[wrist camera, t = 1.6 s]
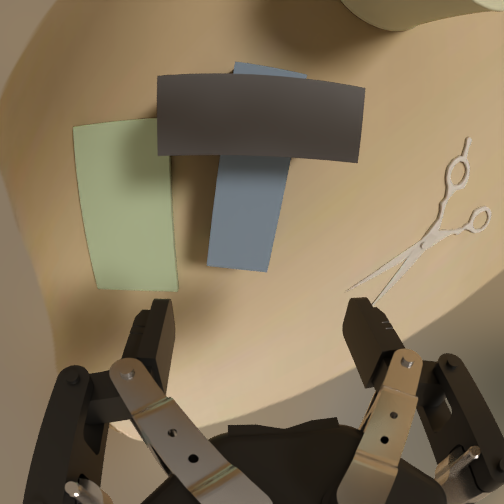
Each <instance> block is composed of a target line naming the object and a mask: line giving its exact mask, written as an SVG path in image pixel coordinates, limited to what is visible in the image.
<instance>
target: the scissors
mask: <svg viewBox="0 0 504 504" xmlns="http://www.w3.org/2000/svg"><path fill="white" fill-rule="evenodd" d="M471 142H472V139H471V138H470V137H467V138H466V139H465V146H464V149H463V152H462V156H459V155H458V156H457V157H455V158H453V159H452V160H451V162H450V163H449V165H448V166H447V170H446V176H445V178H446V186H447V189H446V194H445V197H444V198H443V199H442V201H441V202H440V211H439V215H438V218H437V219H436V220H435V221H434V223H433V224H432V225H431V227H430V228H429V229H428V231H427V232H426V233H425V235H424V236H423V237H422V239H421V240H420V241H418V242H417V243H415V244H414V245H412V246H411V247H409V248H408V249H406V250H405V251H403V252H402V253H400V254H399V255H397V256H396V257H395V258H393V259H392V260H390V261H389V262H387V263H386V264H384V265H383V266H382V267H380V268H379V269H377V270H376V271H375V272H373V273H372V274H370V275H369V276H367V277H366V278H364V279H363V280H361V281H360V282H358V283H357V284H355V285H354V286H353V287H351V288H350V289H349V290H351V289H353V288H355V287H356V286H358V285H360V284H362V283H364V282H366V281H368V280H370V279H372V278H374V277H376V276H377V275H379V274H381V273H383V272H385V271H386V270H388V269H390V268H392V267H394V266H396V265H397V264H399V263H401V262H402V261H404V260H405V259H406V258H407V257H408V258H407V259H406V261H405V262H404V264H403V265H402V266H401V268H400V269H399V270H398V272H397V273H396V274H395V276H394V277H393V278H392V279H391V281H390V282H389V283H388V285H387V286H386V287H385V289H384V290H383V291H382V293H381V294H380V295H379V297H378V298H377V299H376V300H375V302H374V303H373V304H372V306H373V305H374V304H375V303H376V302H377V301H378V300H379V299H380V298H381V297H382V296H383V295H384V294H385V293H386V292H387V291H388V290H389V289H390V288H391V287H392V286H393V285H394V284H395V283H396V282H397V281H398V280H399V279H400V278H401V277H402V276H403V275H404V274H405V273H406V272H407V271H408V269H409V268H410V267H411V266H412V265H413V264H414V263H415V262H416V260H417V259H418V258H419V257H420V256H421V255H422V253H423V252H424V251H425V250H426V249H428V248H430V247H432V246H433V245H435V244H436V243H438V242H439V241H440V240H442V239H444V238H445V237H447V236H449V235H450V234H457V235H459V234H460V233H461V232H462V231H463V230H465V229H467V230H470V231H471V232H473V233H478V232H481V231H483V230H484V229H485V228H486V227H487V225H488V224H489V222H490V219H491V211H490V209H489V208H488V207H486V206H481V207H478V208H477V209H475V210H474V211H473V213H472V215H471V217H470V220H469V222H468V223H465V224H464V225H463V226H462V227H461V228H457V229H450V230H447V229H442V230H439V229H440V225H441V222H442V218H443V214H444V210H445V206H446V204H447V202H448V199H449V198H450V197H451V196H452V194H453V193H454V192H455V191H456V190H459V189H463V188H464V187H465V186H466V184H467V182H468V178H469V173H470V165H469V162H468V160H467V154H468V150H469V146H470V145H471ZM459 161H461V162H464V165H465V169H466V171H465V175H464V177H463V179H462V180H461V181H460V182H459V183H458V184H457V185H453V184H452V181H451V179H450V178H451V172H452V169H453V167H454V166H455V165H456V164H457V163H458V162H459ZM482 211H486V212H487V215H488V217H487V221H486V223H485V224H484V225H483V226H482V227H481V228H479V229H474V227H473V221H474V219H475V217H476V216H477V215H478V214H479V213H481V212H482ZM349 290H347V291H349ZM347 291H346V292H347Z"/></svg>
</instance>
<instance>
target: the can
mask: <svg viewBox="0 0 504 504" xmlns="http://www.w3.org/2000/svg"><path fill="white" fill-rule="evenodd" d="M341 1H342V3H343V4H344V5H345V6H346V7H347V8H348V9H349V10H350V11H351V12H352V13H354V14H355V15H356V16H357V17H359V18H360V19H362V20H363V21H365V22H367V23H369V24H371V25H373V26H375V27H378V28H381V29H384V30H389V31H405V30H409V29H412V28H414V27H416V26H417V25H420V24H424V23H428V22H432V21H436V20H440V19H445V18H449V17H454V16H460V15H466V14H472V13H479V12H488V11H499V12H500V11H504V0H341Z"/></svg>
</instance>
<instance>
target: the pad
mask: <svg viewBox="0 0 504 504" xmlns="http://www.w3.org/2000/svg"><path fill="white" fill-rule="evenodd" d="M73 137H74V151H75V162H76V172H77V181H78V189H79V196H80V203H81V210H82V216H83V222H84V228H85V233H86V238H87V244H88V248H89V253H90V258H91V262H92V267H93V271H94V275H95V280H96V284H97V288H98V289H112V290H137V291H171V292H178V289H179V285H178V275H177V264H176V252H175V239H174V224H173V207H172V186H171V156H158V150H157V118H147V119H134V120H123V121H113V122H105V123H96V124H89V125H82V126H76V127H73Z"/></svg>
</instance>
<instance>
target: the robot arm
mask: <svg viewBox="0 0 504 504" xmlns="http://www.w3.org/2000/svg"><path fill="white" fill-rule="evenodd" d="M343 336H344V338H345V341H346V343H347V346H348V348H349V350H350V353H351V355H352V357H353V360H354V362H355V365H356V367H357V369H358V372H359V374H360V377H361V379H362V382H363V384H364V387H365V388H371V387H374V388H375V390H376V391H375V393H374V395H373V397H372V400H371V402H370V404H369V407H368V409H367V411H366V413H365V416H364V418H363V420H362V422H361V424H360V426H359V428H358V429H356V428H353V427H350V426H347V425H340V424H339V423H338V420H337V417H334V418H327V419H320V420H311V421H309V422H305V423H302V424H300V425H296V426H293V427H290V428H286V429H280V428H274V427H267V426H261V425H228V432H227V433H223V434H220V435H217V436H214V437H212V438H210V439H209V440H208V439H207V438H206V437H205V436H204V435H203V434H202V433H201V432H200V430H199V429H198V428H197V427H196V426H195V425H194V423H193V422H192V421H191V420H190V419H189V418H188V416H187V415H186V414H185V413H184V411H183V410H182V409H181V408H180V407H179V405H178V404H177V403H176V402H175V400H174V399H173V398H171V397H169V398H168V397H167V396H166V390H167V384H168V377H169V371H170V365H171V359H172V353H173V347H174V341H175V323H174V315H173V308H172V301H171V299H154V300H153V303H152V306H151V309H150V310H142V311H141V312H140V313H139V314H138V315H137V316H136V317H135V320H134V323H133V327H132V328H131V331H130V334H129V337H128V340H127V343H126V346H125V349H124V352H123V355H122V358H121V359H120V360H118V361H116V362H115V363H114V364H113V365H112V366H111V368H110V370H108V371H104V372H98V373H92V374H89V373H88V371H87V370H86V369H85V368H84V367H82V366H77V365H74V366H69V367H67V368H65V369H63V370H62V371H61V372H60V374H59V375H58V377H57V380H56V383H55V386H54V389H53V391H52V394H51V397H50V400H49V403H48V406H47V409H46V412H45V416H44V418H43V422H42V425H41V428H40V432H39V435H38V439H37V443H36V446H35V450H34V454H33V458H32V462H31V466H30V471H29V475H28V479H27V484H26V489H25V494H24V500H23V504H113V501H112V499H111V498H110V496H109V495H108V494H107V493H105V492H104V491H103V490H102V489H101V488H100V484H101V476H102V468H103V461H104V453H105V447H106V440H107V434H108V428H109V423H110V422H116V421H122V420H128V419H130V421H131V422H132V424H133V426H134V427H135V429H136V430H137V432H138V433H139V435H140V436H141V438H142V439H143V441H144V442H145V444H146V445H147V447H148V448H149V450H150V451H151V453H152V454H153V456H154V458H155V459H156V461H157V462H158V464H159V465H160V466H161V468H162V469H163V470H164V472H165V473H166V474H167V475H168V478H167V479H166V480H165V481H164V482H163V483H162V484H161V485H160V486H159V487H158V488H157V489H156V490H155V491H154V492H153V493H152V494H150V495H149V496H148V497H147V498H146V499H145V500H144V501H143V502H142V503H141V504H474V503H476V502H477V501H479V500H481V499H482V498H484V497H485V496H487V495H489V494H490V493H491V492H493V491H495V490H496V489H498V488H499V487H500V486H502V485H503V484H504V438H503V435H502V434H501V431H500V429H499V427H498V425H497V423H496V422H495V419H494V417H493V415H492V413H491V411H490V409H489V407H488V406H487V404H486V402H485V400H484V398H483V396H482V394H481V393H480V391H479V389H478V387H477V386H476V384H475V382H474V380H473V378H472V377H471V375H470V373H469V372H468V370H467V368H466V367H465V365H464V363H463V362H462V360H461V359H460V358H459V357H457V356H456V355H453V354H449V353H446V354H443V355H441V356H440V357H439V359H438V361H437V362H433V361H423V360H422V359H421V357H420V356H419V355H418V354H417V353H416V352H414V351H413V350H410V349H405V347H404V345H403V343H402V342H401V340H400V338H399V337H398V335H397V333H396V332H395V330H394V329H393V327H392V325H391V323H389V320H388V319H387V317H386V315H385V314H384V313H383V312H382V311H381V310H379V309H378V308H377V307H373V306H372V305H371V303H370V301H369V300H368V298H366V297H362V298H351V299H350V300H349V303H348V307H347V311H346V314H345V318H344V322H343ZM445 398H447V400H448V402H449V404H450V406H451V408H452V415H451V412H450V410H449V408H448V406H447V404H446V402H445ZM415 409H417V411H418V414H419V416H420V419H421V421H422V424H423V426H424V429H425V432H426V434H427V437H428V440H429V442H430V445H431V448H432V450H433V453H434V456H435V459H436V462H437V465H438V466H437V467H436V470H435V478H434V479H433V478H431V477H430V476H428V475H426V474H425V473H423V472H422V471H420V470H419V469H417V468H415V467H414V466H412V465H411V464H409V463H408V462H406V461H405V460H403V459H402V458H400V457H401V455H402V452H403V449H404V445H405V443H406V440H407V437H408V434H409V430H410V427H411V424H412V420H413V417H414V413H415Z"/></svg>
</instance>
